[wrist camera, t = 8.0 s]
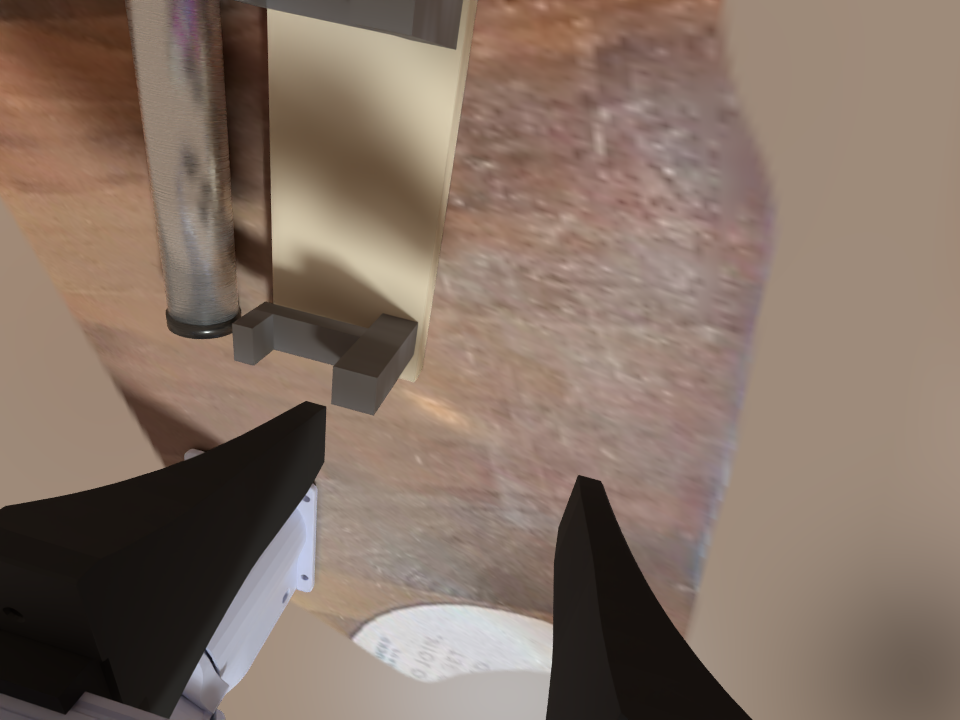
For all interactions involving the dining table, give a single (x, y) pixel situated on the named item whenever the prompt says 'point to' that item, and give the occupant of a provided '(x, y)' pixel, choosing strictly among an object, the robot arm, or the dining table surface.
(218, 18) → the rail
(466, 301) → the dining table surface
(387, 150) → the rack
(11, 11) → the dining table surface
